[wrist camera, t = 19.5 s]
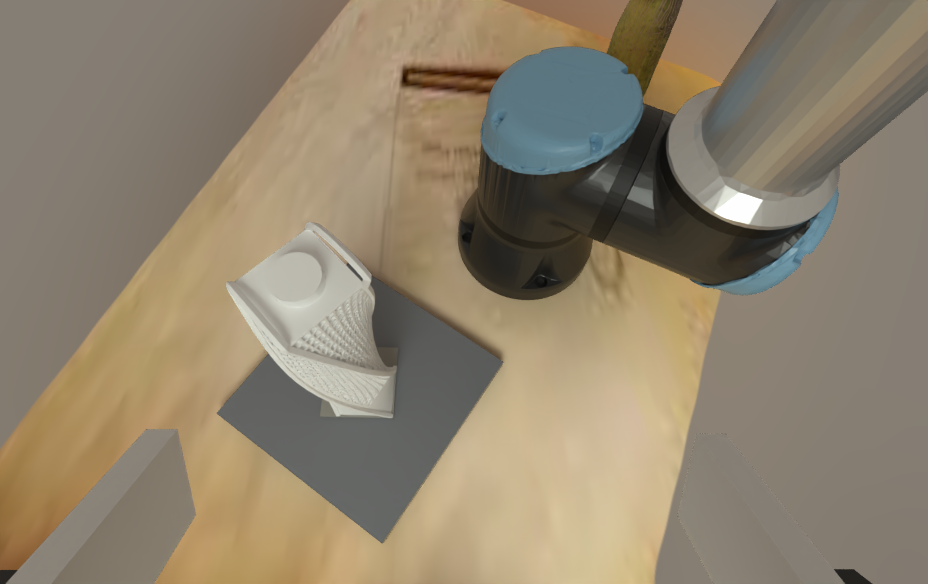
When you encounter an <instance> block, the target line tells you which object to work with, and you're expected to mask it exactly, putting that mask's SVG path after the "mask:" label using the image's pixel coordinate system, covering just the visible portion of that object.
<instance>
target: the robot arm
mask: <svg viewBox="0 0 928 584" xmlns="http://www.w3.org/2000/svg"><path fill="white" fill-rule="evenodd" d="M627 72H628V67H627V66H626V65H625V64H624V63H622V62H621V61H620V60H618V59H616V58H614V57H612V56H610V55H608V54H606V53H604V52H600V51H597V50H594V49H589V48H583V47H556V48H550V49H546V50H542V51H541V52H540V53H539V54H534V55H529V56H526V57H524V58H522V59H520V60H519V61H517V62H516V63H514V64H513V65H511V66H510V67H509V68H508V69H507V70H506V71H505V72H504V73H503V74H502V75H501V76H500V77H499V78H498V80H497V81H496V83H495V85H494V86H493V88H492V90H491V93H490V95H489V99H488V103H487V109H486V115H485V117H484V119H483V122H482V128H481V155H480V168H479V180H478V188H477V189H476V191H475V192H474V193H473V195H472V196H471V198H470V199H469V200H468V202H467V203H466V205H465V207H464V209H463V211H462V214H461V217H460V222H459V232H458V244H459V250H460V254H461V257H462V260H463V262H464V264H465V266H466V267H467V269H468V270H469V272H470V273H471V274H472V276H473V277H474V278H475V279H476V280H477V281H478V282H480V283H481V284H482V285H483V286H485V287H486V288H488V289H489V290H491V291H493V292H495V293H497V294H500V295H502V296H505V297H509V298H513V299H520V300H535V299H542V298H546V297H549V296H552V295H554V294H557V293H559V292H561V291H562V290H564V289H565V288H567V287H568V286H569V285H571V284H572V283H573V282H574V281H575V280H576V278H577V277H578V276H579V275H580V273H581V271H582V270H583V268H584V266H585V264H586V262H587V260H588V258H589V255H590V252H591V248H592V242H593V239H594V240H597V241H599V242H602V243H604V244H606V245H608V246H611V247H613V248H616V249H618V250H621V251H623V252H626V253H628V254H631V255H633V256H635V257H638V258H640V259H643V260H645V261H648V262H650V263H653V264H655V265H658V266H660V267H662V268H665V269H667V270H670V271H672V272H675V273H677V274H679V275H682V276H684V277H686V278H689V279H690V280H691V281H693V282H694V283H696V284H698V285H700V286H703V287H706V288H713V289H718V290H721V291H724V292H727V293H730V294H734V295H752V294H756V293H760V292H763V291H765V290H767V289H769V288H772V287H773V286H775V285H777V284H778V283H780V282H781V281H783V280H784V279H786V278H787V277H788V276H789V275H791V274H792V273H793V272H794V271H795V270H796V269H797V268H798V267H799V266H800V265H801V260H802V257H803V256H804V255H806V254H810V253H812V252H813V251H814V249H815V248H816V247H817V245H818V244H819V242H820V241H821V240H822V238H823V237H824V235H825V233H826V231H827V230H828V228H829V226H830V224H831V221H832V220H833V217H834V214H835V211H836V207H837V203H838V196H839V193H838V181H839V175H840V163H842V162H843V161H844V160H845V159H847V158H848V157H849V156H850V155H851V154H853V153H854V152H855V151H856V150H857V149H858V148H860V147H861V146H862V145H863V144H865V143H866V142H867V141H868V140H869V139H871V138H872V137H873V136H874V135H875V134H877V133H878V132H879V131H880V130H882V129H883V128H884V127H885V126H886V125H887V124H889V123H890V122H891V121H892V120H894V119H895V118H896V117H897V116H898V115H900V114H901V113H902V112H903V111H904V110H906V109H907V108H908V107H909V106H911V105H912V104H913V103H914V102H915V101H916V100H918V99H919V98H920V97H921V96H923V95H924V94H925V93H926V92H927V91H928V0H777V1H776V3H775V4H774V6H773V7H772V9H771V10H770V12H769V13H768V15H767V16H766V18H765V19H764V21H763V22H762V24H761V25H760V27H759V28H758V30H757V31H756V33H755V34H754V36H753V37H752V39H751V41H750V42H749V44H748V45H747V46H746V48H745V50H744V51H743V53H742V54H741V56H740V58H739V59H738V60H737V62H736V63H735V65H734V66H733V68H732V69H731V71H730V72H729V74H728V75H727V77H726V78H725V80H724V82H723V83H722V84H721V86H718V87H714V88H710V89H708V90H705V91H703V92H701V93H699V94H697V95H695V96H693V97H692V98H691V99H690V100H688V101H687V102H686V103H685V104H684V105H683V106H682V107H681V109H680V110H679V111H678V112H677V113H676V115H675V114H672V113H669V112H666V111H663V110H660V109H657V108H655V107H652V106H649V105H646V104H644V103H643V97H642V90H641V86H640V84H639V81H638V79H637V78H636V77H635V75H634V74H628V73H627ZM195 516H196V511H195V507H194V502H193V498H192V493H191V489H190V484H189V480H188V475H187V470H186V466H185V461H184V457H183V452H182V448H181V443H180V439H179V434H178V430H177V429H146V430H145V431H144V432H143V433H142V435H141V436H140V437H139V438H138V439H137V440H136V441H135V442H134V443H133V444H132V446H131V447H130V448H129V449H128V450H127V451H126V452H125V453H124V454H123V455H122V456H121V458H120V459H119V460H118V461H117V462H116V463H115V464H114V465H113V466H112V467H111V469H110V470H109V471H108V472H107V473H106V474H105V475H104V476H103V477H102V478H101V480H100V481H99V482H98V483H97V484H96V485H95V486H94V487H93V488H92V489H91V491H90V492H89V493H88V494H87V495H86V496H85V497H84V498H83V499H82V500H81V501H80V503H79V504H78V505H77V506H76V507H75V508H74V509H73V510H72V511H71V512H70V514H69V515H68V516H67V517H66V518H65V519H64V520H63V521H62V522H61V523H60V525H59V526H58V527H57V528H56V529H55V530H54V531H53V532H52V533H51V534H50V536H49V537H48V538H47V539H46V540H45V541H44V542H43V543H42V544H41V545H40V546H39V548H38V549H37V550H36V551H35V552H34V553H33V554H32V555H31V556H30V557H29V559H28V560H27V561H26V562H25V563H24V564H23V565H22V566H21V567H20V568H19V570H0V584H154V583H155V581H156V580H157V578H158V576H159V575H160V573H161V571H162V570H163V568H164V566H165V565H166V563H167V562H168V560H169V558H170V557H171V555H172V553H173V552H174V550H175V548H176V547H177V545H178V543H179V542H180V540H181V539H182V537H183V535H184V534H185V532H186V530H187V529H188V527H189V525H190V524H191V522H192V521H193V519H194V517H195ZM678 518H679V520H680V522H681V524H682V526H683V528H684V530H685V531H686V533H687V535H688V537H689V539H690V541H691V543H692V545H693V546H694V549H695V550H696V552H697V554H698V556H699V558H700V560H701V562H702V564H703V566H704V568H705V569H706V571H707V573H708V575H709V577H710V579H711V581H712V583H713V584H872V583H871V582H869V581H868V580H867V579H865V578H864V577H863V576H861V575H860V574H859V573H858V572H856V571H855V570H854V569H846V570H845V569H833V568H832V567H831V565H830V564H829V563H828V562H827V560H825V558H824V557H823V556H822V554H821V553H820V552H819V550H818V549H817V548H816V547H815V545H814V544H813V543H812V542H811V540H810V539H809V538H808V536H807V535H806V534H805V533H804V531H803V530H802V529H801V528H800V526H799V525H798V524H797V523H796V521H795V520H794V519H793V518H792V516H791V515H790V514H789V513H788V511H787V510H786V509H785V508H784V506H783V505H782V504H781V503H780V501H779V500H778V499H777V497H776V496H775V495H774V494H773V492H772V491H771V490H770V489H769V487H768V486H767V485H766V484H765V482H764V481H763V480H762V479H761V477H760V476H759V475H758V474H757V472H756V471H755V470H754V468H753V467H752V466H751V465H750V463H749V462H748V461H747V460H746V458H745V457H744V456H743V455H742V453H741V452H740V451H739V450H738V448H737V447H736V446H735V445H734V443H733V442H732V441H731V439H730V438H729V437H728V436H727V434H696V438H695V442H694V447H693V451H692V455H691V460H690V464H689V468H688V473H687V477H686V482H685V486H684V490H683V494H682V499H681V503H680V507H679V512H678Z"/></svg>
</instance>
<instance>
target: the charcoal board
mask: <svg viewBox="0 0 928 584" xmlns="http://www.w3.org/2000/svg"><path fill="white" fill-rule="evenodd" d="M346 266H347V267H348V268H349V269H350V270H351V271H352V272H353V273H354V274H355V275H356V276H357V277H358V278H359V279H360V280H361V281H363V278H362V277H361V276H360V275H359V274H358V273H357V271H356V270H355V269H354V268H353V267H352V266H351V265H350V264H349V263H348V264H347V265H346ZM370 285H371V286H372V288H373V290H374V293H375V306H374V311H373V314H372V330H373V336H374V341H375V345H376V347H394V348H398V361H397V375H396V390H395V405H394V418H348V417H320V411H321V403H322V398H320V397H318V396H316V395H314V394H313V393H311V392H309V391H308V390H306V389H305V388H303V387H302V386H300V385H299V384H298V383H296V382H295V381H294V380H293V379H292V378H291V377H289V376H288V375H287V374H286V373H285V372H284V371H283V370H282V369H281V368H280V367H279V365H278V364H277V363H276V362H275V361H274V360H273V358H272V357H271V356H270V355H269V354H268V355H267V356H266V357H265V359H264V360H263V361H262V362H261V363H260V364H259V365H258V367H257V368H256V369H255V370H254V371H253V372H252V373H251V375H250V376H249V377H248V378H247V379H246V380H245V381H244V383H243V384H242V385H241V386H240V387H239V388H238V389H237V391H236V392H235V393H234V394H233V395H232V396H231V397H230V399H229V400H228V401H227V402H226V403H225V404H224V405H223V407H222V408H221V409H220V410H219V411H218V412H217V414H218V415H219V416H221V417H222V418H223V419H224V420H226V421H227V422H228V423H230V424H231V425H232V426H233V427H235V428H236V429H237V430H238V431H240V432H241V433H242V434H244V435H245V436H246V437H247V438H249V439H250V440H251V441H252V442H254V443H255V444H256V445H258V446H259V447H260V448H261V449H263V450H264V451H265V452H266V453H268V454H269V455H270V456H272V457H273V458H274V459H275V460H277V461H278V462H279V463H280V464H282V465H283V466H284V467H286V468H287V469H288V470H289V471H291V472H292V473H293V474H294V475H296V476H297V477H298V478H299V479H301V480H302V481H303V482H305V483H306V484H307V485H308V486H310V487H311V488H312V489H313V490H315V491H316V492H317V493H319V494H320V495H321V496H322V497H324V498H325V499H326V500H327V501H329V502H330V503H331V504H333V505H334V506H335V507H336V508H338V509H339V510H340V511H341V512H343V513H344V514H345V515H347V516H348V517H349V518H350V519H352V520H353V521H354V522H355V523H357V524H358V525H359V526H360V527H362V528H363V529H364V530H366V531H367V532H368V533H369V534H371V535H372V536H373V537H374V538H376V539H377V540H378V541H380V542H381V543H384V542H385V540H386V539H387V537H388V536H389V534H390V533H391V531H392V530H393V528H394V527H395V525H396V524H397V522H398V521H399V519H400V518H401V516H402V515H403V513H404V512H405V510H406V509H407V507H408V506H409V504H410V503H411V501H412V500H413V498H414V497H415V495H416V494H417V492H418V491H419V489H420V488H421V486H422V485H423V483H424V482H425V480H426V479H427V477H428V476H429V474H430V473H431V471H432V470H433V468H434V467H435V465H436V464H437V462H438V461H439V459H440V458H441V456H442V455H443V453H444V452H445V450H446V449H447V447H448V446H449V444H450V443H451V441H452V440H453V438H454V437H455V435H456V434H457V432H458V431H459V429H460V428H461V426H462V425H463V423H464V422H465V421H466V419H467V418H468V416H469V415H470V413H471V412H472V410H473V409H474V407H475V406H476V404H477V403H478V401H479V400H480V398H481V397H482V395H483V394H484V392H485V391H486V389H487V388H488V386H489V385H490V383H491V382H492V380H493V379H494V377H495V376H496V374H497V373H498V371H499V370H500V368H501V367H502V365H503V361H501V360H500V359H498V358H497V357H495V356H494V355H492V354H491V353H489V352H488V351H486V350H485V349H483V348H482V347H480V346H478V345H477V344H475V343H474V342H472V341H471V340H469V339H468V338H466V337H465V336H463V335H462V334H460V333H459V332H457V331H456V330H454V329H453V328H451V327H450V326H448V325H446V324H445V323H443V322H442V321H440V320H439V319H437V318H436V317H434V316H433V315H431V314H430V313H428V312H427V311H425V310H424V309H422V308H421V307H419V306H417V305H416V304H414V303H413V302H411V301H410V300H408V299H407V298H405V297H404V296H402V295H401V294H399V293H398V292H396V291H395V290H393V289H392V288H390V287H389V286H387V285H385V284H384V283H382V282H381V281H379V280H378V279H376V278H375V277H373V276H371V283H370Z"/></svg>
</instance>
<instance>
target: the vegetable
mask: <svg viewBox="0 0 928 584" xmlns="http://www.w3.org/2000/svg"><path fill="white" fill-rule="evenodd" d="M682 1H683V0H630V1H629V3H628V5H627V7H626V8H625V10H624V12H623V14H622V16H621V18H620V20H619V22H618V24H617V26H616V28H615V31H614V34H613V37H612V39H611V42H610V45H609V48H608V51H607V54H608V55H610V56H612V57H614V58H616V59H618V60H620V61H621V62H622V63H624V64H625V65H626V66H627V67H628V72H627V73H628V74H634V75H635V77H636V78H637V79H638V81H639V84H640V86H641V90H642V97H643V96H644V94H645V92H646V90H647V88H648V86H649V83H650V80H651V78H652V75H653V73H654V70H655V68H656V66H657V64H658V61H659V59H660V56H661V54H662V52H663V49H664V47H665V45H666V43H667V40H668V38H669V36H670V33H671V30H672V28H673V25H674V23H675V21H676V19H677V16H678V13H679V10H680V7H681V5H682Z"/></svg>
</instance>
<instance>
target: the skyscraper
mask: <svg viewBox="0 0 928 584" xmlns="http://www.w3.org/2000/svg"><path fill="white" fill-rule="evenodd" d="M312 230H313V231H315V232H316V233H317V234H319V235H320V236H321V237H322V238H323V239H324V240H326V241H327V242H328V243H329V244H330V245H331V246H332V247H333V248H334V249H335V250H336V251H337V252H338V253H339V254H340V255H341V256H342V257H343V258H344V259H345V260H346V261H347V262H348V263H349V264H350V265H351V266H352V267H353V268H354V269H355V270H356V271H357V273H358V274H359V275H360V276H361V277H362V278H363V281H361V280H360V279H359V278H358V277H357V276H356V275H355V274H354V273H353V272H352V271H351V270H350V269H349V268H348V267H347V266H346V265H345V264H344V263H343V262H342V261H341V260H340V259H339V258H338V257H337V256H336V255H335V253H334V252H333V251H332V250H331V249H330V248H329V247H328V246H327V245H326V244H325V243H324V242H323V241H322V240H321V239H320V238H319V237H318V236H317V235H316V234H315V233H314V232H313V231H312ZM371 276H372V275H371V273H370V272H369V271H368V269H367V268H366V267H365V266H364V265H363V264H362V263H361V262H360V261H359V260H358V259H357V258H356V256H355V255H354V254H353V253H352V252H351V251H350V250H349V249H348V248H347V247H345V246H344V245H343V244H342V243H341V242H340V241H339V240H338V239H337V238H336V237H335V236H334V235H333V234H331V233H330V232H329V231H328V230H327V229H325V228H324V227H323V226H321V225H320V224H318V223H312V222H307V223H306V225H305V229H304V231H303V232H302V233H300V234H299V235H298V236H296V237H295V238H293V239H292V240H291V241H289V242H288V243H287V244H285V245H284V246H283V247H281V248H280V249H278V250H277V251H276V252H274V253H273V254H272V255H270V256H269V257H268V258H266V259H265V260H264V261H262V262H261V263H259V264H258V265H257V266H255V267H254V268H253V269H251V270H250V271H249V272H247V273H246V274H244V275H243V276H242V277H240V278H239V279H238V280H236V281H235V282H228V281H227V285H226V289H227V290H228V292H229V293H230V295H231V297H232V298H233V300H234V302H235V303H236V305H237V307H238V308H239V310H240V312H241V313H242V315H243V316H244V318H245V320H246V321H247V323H248V324H249V326H250V328H251V329H252V331H253V332H254V334H255V335H256V337H257V338H258V339H259V341H260V342H261V344H262V345H263V347H264V348H265V350H266V351H267V352H268V353H269V355H270V356H271V357H272V358H273V360H274V361H275V362H276V363H277V364H278V365H279V367H280V368H281V369H282V370H283V371H284V372H285V373H286V374H287V375H288V376H289V377H291V378H292V379H293V380H294V381H295V382H296V383H298V384H299V385H300V386H302V387H303V388H305V389H306V390H308V391H309V392H311V393H313V394H314V395H316V396H318V397H320V398H322V403H321V411H320V417H348V418H394V405H395V390H396V375H397V361H398V348H394V347H376V345H375V341H374V336H373V330H372V314H373V311H374V306H375V293H374V290H373V288H372V286H371V285H370V283H371Z"/></svg>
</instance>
